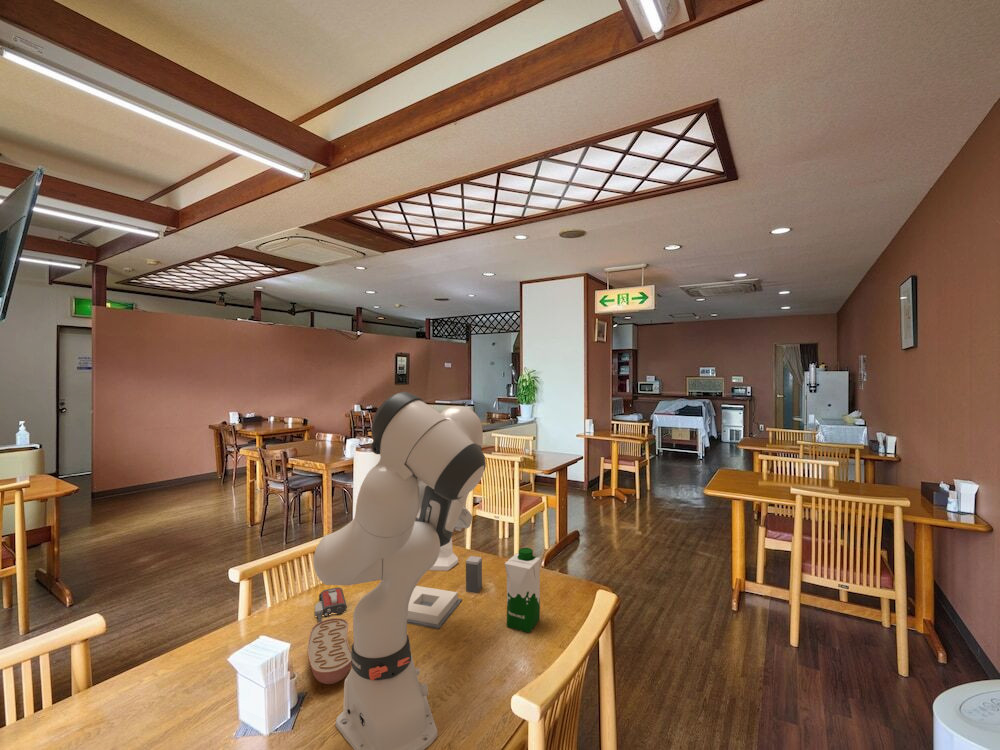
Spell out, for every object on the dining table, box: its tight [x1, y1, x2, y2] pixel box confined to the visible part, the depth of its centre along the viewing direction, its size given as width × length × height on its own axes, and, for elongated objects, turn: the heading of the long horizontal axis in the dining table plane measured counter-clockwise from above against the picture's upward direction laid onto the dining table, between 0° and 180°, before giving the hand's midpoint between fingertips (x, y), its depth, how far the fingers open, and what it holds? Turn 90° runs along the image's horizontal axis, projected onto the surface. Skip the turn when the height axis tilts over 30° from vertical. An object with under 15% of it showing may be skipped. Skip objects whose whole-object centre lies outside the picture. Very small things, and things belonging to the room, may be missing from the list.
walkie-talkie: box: [314, 586, 347, 624], centre depth 137 cm, size 9×4×20 cm
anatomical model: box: [307, 618, 352, 685], centre depth 113 cm, size 23×10×5 cm, turn 23°
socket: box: [407, 585, 463, 630], centre depth 137 cm, size 16×16×3 cm
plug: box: [465, 555, 483, 594], centre depth 149 cm, size 4×4×10 cm
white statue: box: [428, 537, 459, 572], centre depth 169 cm, size 12×15×14 cm
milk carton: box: [504, 547, 541, 634], centre depth 129 cm, size 9×9×20 cm
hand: (444, 526), depth 135 cm, fingers open, 8 cm apart
